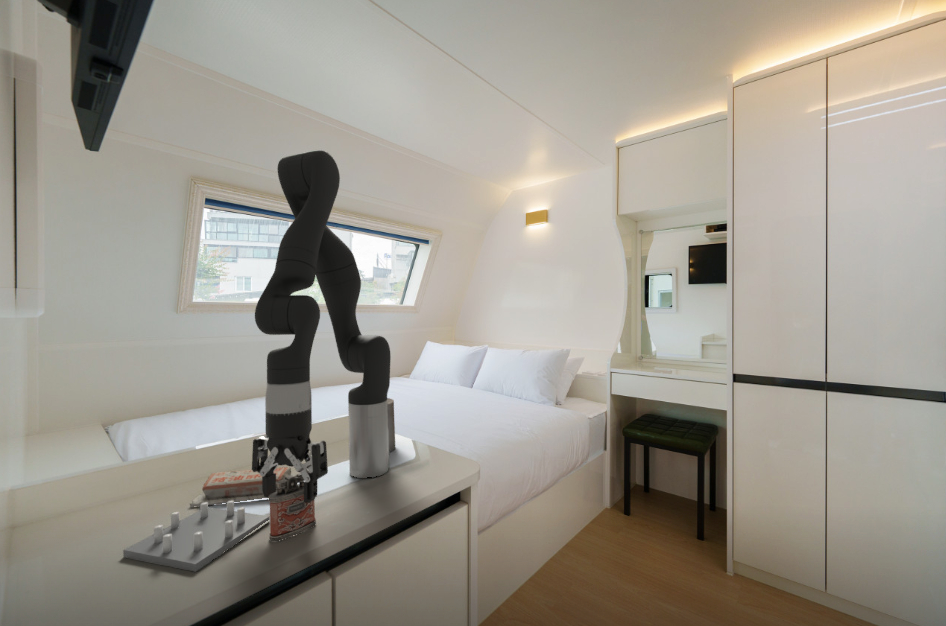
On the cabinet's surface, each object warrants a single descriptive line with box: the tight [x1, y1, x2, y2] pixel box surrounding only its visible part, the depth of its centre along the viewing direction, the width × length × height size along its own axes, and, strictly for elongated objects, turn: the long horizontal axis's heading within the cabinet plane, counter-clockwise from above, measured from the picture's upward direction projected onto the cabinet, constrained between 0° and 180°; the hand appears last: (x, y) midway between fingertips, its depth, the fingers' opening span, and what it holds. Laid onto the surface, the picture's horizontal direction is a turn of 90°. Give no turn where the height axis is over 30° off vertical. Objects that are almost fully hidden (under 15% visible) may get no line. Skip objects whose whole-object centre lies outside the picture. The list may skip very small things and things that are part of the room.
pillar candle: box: [387, 397, 396, 453], centre depth 117 cm, size 10×10×15 cm
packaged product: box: [189, 466, 292, 508], centre depth 90 cm, size 18×5×10 cm
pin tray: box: [122, 501, 270, 573], centre depth 72 cm, size 15×15×4 cm
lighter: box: [268, 472, 317, 542], centre depth 74 cm, size 8×3×10 cm, turn 138°
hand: (289, 498), depth 74 cm, fingers open, 8 cm apart
